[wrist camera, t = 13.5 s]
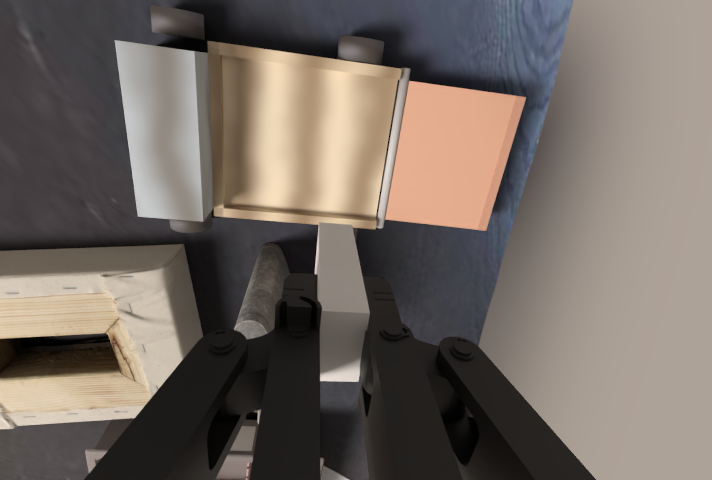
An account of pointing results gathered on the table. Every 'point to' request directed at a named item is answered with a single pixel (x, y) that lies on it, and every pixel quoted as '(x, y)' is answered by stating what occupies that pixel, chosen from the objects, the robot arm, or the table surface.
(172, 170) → the truck bed
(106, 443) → the organizer tray
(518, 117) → the tailgate
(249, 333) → the flask
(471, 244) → the table surface
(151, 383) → the box
